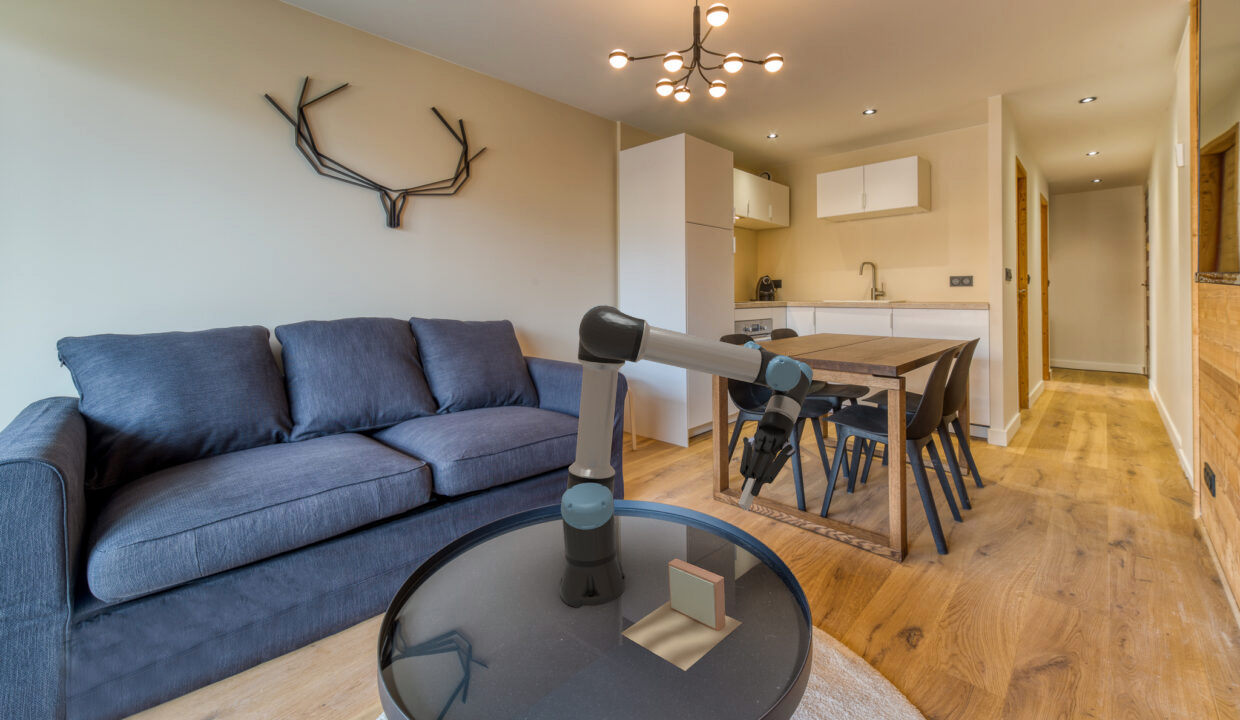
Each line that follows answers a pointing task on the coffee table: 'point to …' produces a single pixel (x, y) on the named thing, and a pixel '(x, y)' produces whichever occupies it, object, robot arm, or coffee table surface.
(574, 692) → the coffee table surface
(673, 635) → the oak board
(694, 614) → the terracotta tile
